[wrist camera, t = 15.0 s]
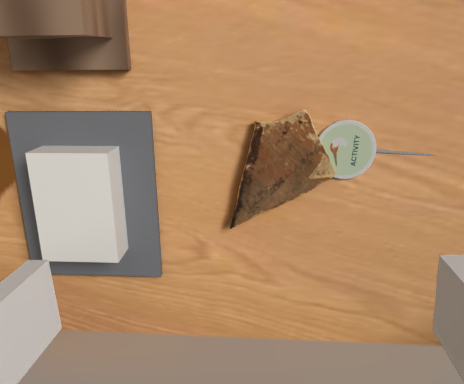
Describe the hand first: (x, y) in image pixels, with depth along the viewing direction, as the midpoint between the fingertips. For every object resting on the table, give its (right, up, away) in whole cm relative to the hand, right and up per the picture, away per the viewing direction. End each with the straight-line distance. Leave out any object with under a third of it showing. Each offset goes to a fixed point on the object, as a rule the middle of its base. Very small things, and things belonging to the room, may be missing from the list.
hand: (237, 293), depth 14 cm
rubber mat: (-14, +3, +26) cm, 29 cm away
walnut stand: (-14, +18, +21) cm, 31 cm away
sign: (+15, +7, +23) cm, 28 cm away
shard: (+5, +5, +25) cm, 26 cm away
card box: (-14, +3, +25) cm, 29 cm away
